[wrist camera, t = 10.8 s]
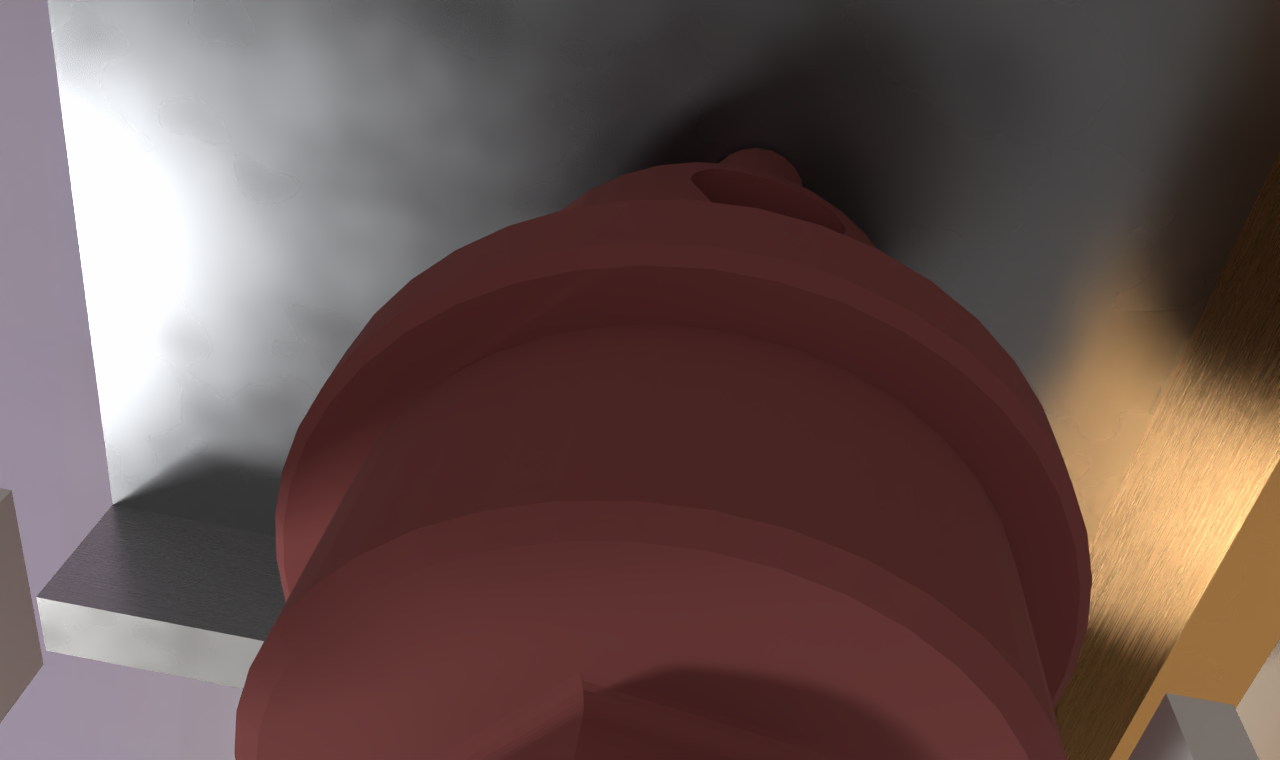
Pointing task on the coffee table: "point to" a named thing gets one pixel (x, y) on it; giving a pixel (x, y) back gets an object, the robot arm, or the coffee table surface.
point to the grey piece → (672, 134)
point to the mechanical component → (673, 503)
